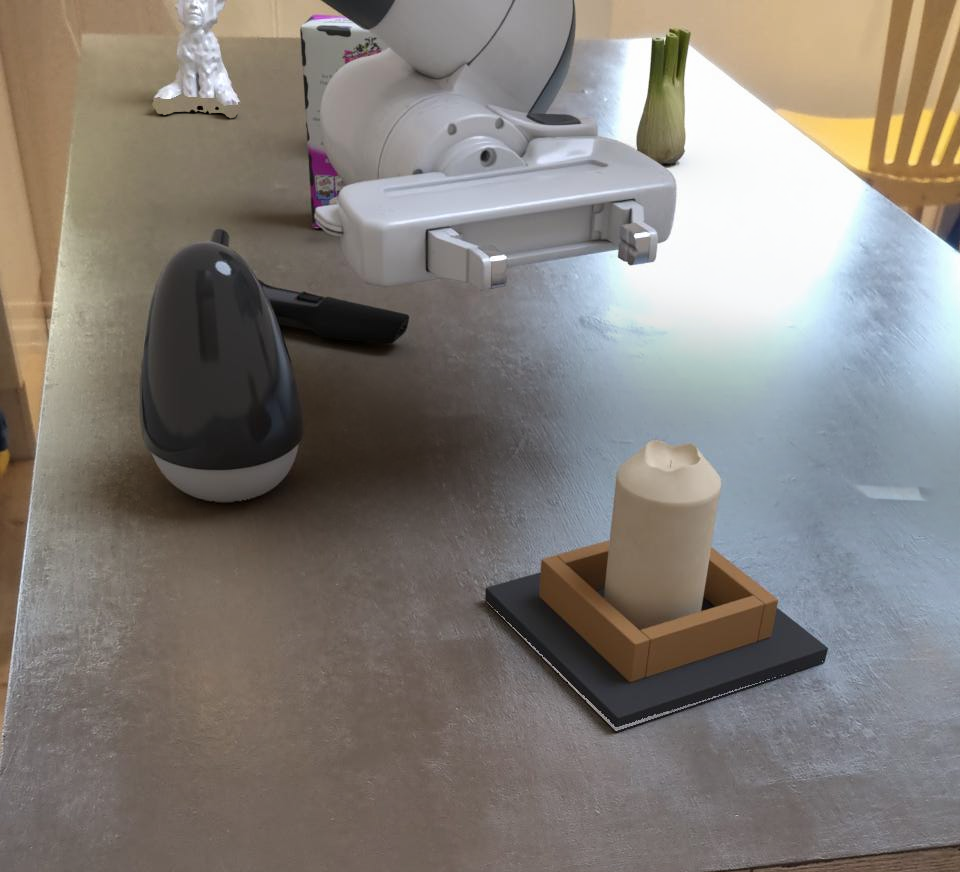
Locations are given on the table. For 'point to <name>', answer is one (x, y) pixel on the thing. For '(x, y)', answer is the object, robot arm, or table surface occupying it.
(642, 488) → the candle
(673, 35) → the fennel bulb
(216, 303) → the grey white egg shape
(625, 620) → the dock
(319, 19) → the candy bar box
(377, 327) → the electric trimmer
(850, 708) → the table surface
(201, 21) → the sitting furry creature
